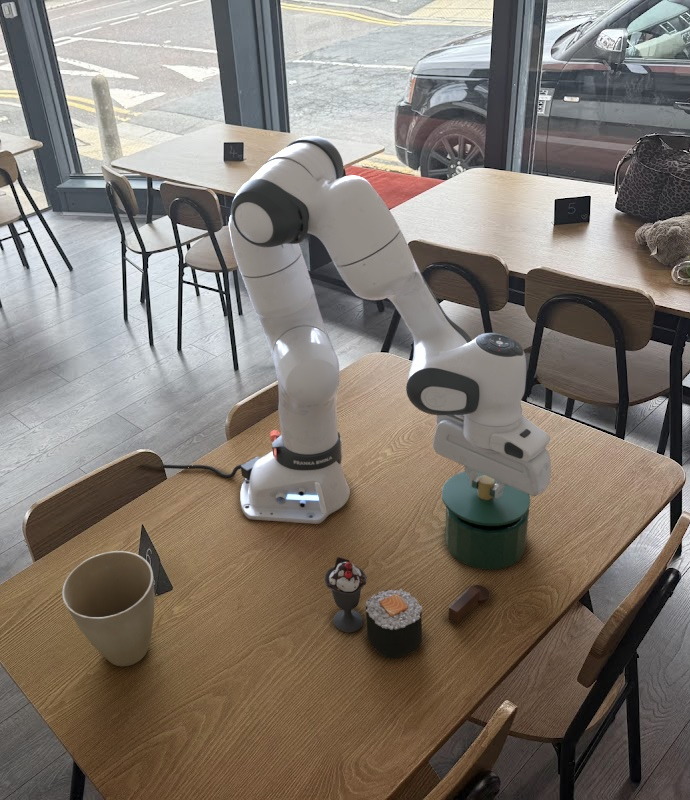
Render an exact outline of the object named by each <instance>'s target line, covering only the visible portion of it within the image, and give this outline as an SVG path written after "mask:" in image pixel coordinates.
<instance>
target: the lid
mask: <svg viewBox="0 0 690 800" xmlns="http://www.w3.org/2000/svg"><path fill="white" fill-rule="evenodd" d="M478 475H479V476H481V477H480V478H479V483H478V489H475V488H473V487H471V486H469V482H470V479H469V478H468V476H467V474H466V472H465V470H463V471H461V472H458V473H456V474H454V475H453V476H451V477H450V478H448V479H447V480H446V481H445V483H444V484H443V486H442V488H441V500H442V502H443V504H444V506H445V508H446V507H447V509H448V510H449V511H450V512H451V513H453V514H454V515H455V516H457V517H459V518H461V519H463V520H465V521H467V522H470V523H474V524H478V525H485V526H499V525H506V524H509V523H513V522H515V521H517V520H519V519H520V518H522V517H523V516H524V515H525V514H526V513H527V511H528V509H529V510H530V507H531V495H529V494H527V493H524V492H522V491H520V490H518V489H515V488H513V487H511V486H509V485H506V486H505V487H504V488H503V494H502V496H501V497H499V498H498V499H497V498H495V497H493V496H491V495H490V493H491V492H490V488H491V487H492V486H494V485H495V484H497V480H495V479H493V478H491V477H488V476H486V475H484V474H482V473H479V472H478Z"/></svg>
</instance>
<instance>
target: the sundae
mask: <svg viewBox="0 0 690 800" xmlns="http://www.w3.org/2000/svg"><path fill="white" fill-rule="evenodd" d="M324 583H325V586H326V587H327V588H328V589H329V590H331V593H332V598H333V600H334V603H335V605H336V607H337V608H339V609H340V610H339V611H338V612H336V613H335V615H334V616H333V624H334V626H335V627H336V629H338V630H339V631H341V632H344V633H353V632H357V631H358V630H360V629H361V628H362V627H363V624H364V618H363V616H362V614H361V613H360V612H358V611H356V610H354V609H356V608H357V607H358V605H359V604H360V601H361V600H360V599H361V593H362V589H363V588H364V587H365V586H366V585H367V575H366V573H365V572H364V571H363V569H362V568H360V567H359V566H358V565H355V564H353V563H352V562H351V560H350V559H348V558H344V557H339V556H337V557H336V559H335V564H334V566H332V567H331V568H328V569H327V571H326V573H325V576H324Z"/></svg>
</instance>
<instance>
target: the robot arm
mask: <svg viewBox="0 0 690 800" xmlns="http://www.w3.org/2000/svg"><path fill="white" fill-rule="evenodd" d="M228 229H229V235H230V241H231V245H232V246H231V247H232V251H233V255H234V258H235V262H236V264H237V267H238V270H239V273H240V276H241V278H242V281H243V284H244V287H245V289H246V292H247V295H248V298H249V300H250V302H251V305H252V308H253V310H254V313H255V315H256V317H257V319H258V321H259V324H260V326H261V329H262V331H263V334H264V336H265V339H266V341H267V344H268V348H269V350H270V354H271V357H272V361H273V364H274V369H275V373H276V377H277V379H276V380H277V387H278V388H277V389H278V404H277V405H278V406H277V409H278V417H279V427H280V431H279V430H277V429H272V430H271V431H270V433H269V436H270V438H269V440H270V442H272V444H271V448H272V450H271V451H270V452H268V453H266V454H265V455H263V456H262V457H260V456H256V457H254V458H252V459H250V460H249V461H247V462H245V463H242V464H238V465H236V466H235V467H233V470H232V472H231V473H224V472H221V470H219V469H217V468H215V467H213V466H211V465H203V464H163V463H162V464H163V467H164V468H163V469H172V470H173V469H175V470H207V471H211V472H213V473H215V474H216V475H218V476H219V477H221V478H224V479H231V478H234V477H235V475H237V472H238V471H239V470H240V471H241V476H242V477H243V479H244V480H243V482H242V484H241V487H240V492H239V493H240V495H239V503H240V508H241V511H242V513H243V515H244V516H245V518H247V519H249V520H255V521H268V522H269V521H270V522H282V523H283V522H286V523H295V524H296V523H297V524H298V523H299V524H312V525H317V524H318V525H319V524H321V523H323V522H324V521H325V520H326V519H327V518H328V516H330V515H331V514H332V513H335V512H336V511H338V510H340V509H341V508H342V507H344V506H345V504H346V503H347V502H348V500H349V498H350V494H351V489H350V486H349V484H348V481H347V480H346V479H347V478H346V476H345V473H344V470H343V465H342V460H343V444H342V439H341V435H340V432H339V425H338V412H337V410H338V409H337V399H338V392H339V386H340V380H341V377H340V376H341V375H340V372H341V371H340V370H341V369H340V362H339V357H338V355H337V353H336V351H335V348H334V346H333V343H332V341H331V339H330V337H329V333H328V330H327V329H326V327H325V323H324V320H323V317H322V313H321V311H320V307H319V304H318V300H317V296H316V293H315V292H316V291H315V288H314V285H313V283H312V280H311V279H312V278H311V275H310V273H309V270H308V267H307V263H306V261H305V257H304V254H303V251H302V248H301V246H300V244H301V243H303V241H304V240H305V239H306V237H307V235H308V234H310V235H313V236H315V237H316V238H318V240H319V241H320V242H321V244H322V245H323V246H324V248H325V250H326V251H327V253H328V255H329V257H330V259H331V261H332V263H333V265H334V266H335V268H336V270H337V272H338V274H339V276H340V277H341V279H342V280H343V282H344V283H345V284H346V286H347V287H348V288H349V289H350V290H351V291H352V293H353V294H354V295H355V296H357V297H359V298H361V299H363V300H369V301H381V300H385V299H387V300H389V301H390V302H391V303H392V304H393V306H394V307H395V309H396V310H397V312H398V314H399V315H400V317H401V318H402V320H403V321H404V323H405V326H407V327H408V330H409V331H410V333H411V335H412V340H413V355H412V356H413V357H412V361H411V364H410V365H411V366H410V368H409V373H408V378H407V382H406V385H405V390H406V395H407V398H408V400H409V401H410V403H411V404H412V405H413V406H414V407H415V408H416V409H418V410H419V411H421V412H423V413H425V414H427V415H432V416H436V421H435V422H436V425H437V426H436V427H435V431H434V435H433V441H432V448H433V450H434V452H435V453H436V454H437V455H438V456H442V457H443V458H446V459H447V460H450V461H453V462H454V463H458V464H459V465H462V466H463V467H464V468H463V471H465V472H466V474H467V476H468V478H469V479H470V482H469V486H471V487H473V488H475V489H478V483H479V478H480V477H481V476H479V475H478V472H479V473H482V474H484V475H486V476H488V477H491V478H493V479H495V480H497V484H495V485H494V486H492V487H491V488H490V492H491V493H490V495H491V496H493V497H495V498H497V499H498V498H499V497H501V496H502V494H503V488H504V487H505V486H506V485H509V486H511V487H513V488H515V489H518V490H520V491H522V492H524V493H527V494H529V496H530V497H537V496H538V495H540V494H542V493H543V492H544V491H545V490H546V489H547V488H548V486H549V485H550V481H551V472H552V470H551V469H552V468H551V467H552V461H551V460H552V459H551V455H550V452H549V451H548V449H547V447H548V445H550V442H551V436H550V435H549V434H548V433H547V432H546V431H544V430H543V429H541V428H540V427H538V426H537V425H536V424H535V423H534V422H532V421H531V420H529V419H528V417H526V416H525V415H524V414H523V407H522V400H523V398H524V395H525V392H526V383H527V357H526V353H525V351H524V348H523V346H522V345H521V344H520V343H519V342H518V341H517V340H515V339H514V338H512V337H510V336H508V335H505V334H502V333H497V332H486V333H485V332H484V333H481V334H479V335H477V336H476V337H475V338H474V339H472V337H470V335H469V334H468V333H467V332H466V331H465V330H464V329H462V327H460V326H459V325H458V324H456V323H455V322H454V321H453V320H452V319H450V316H448V315H447V314H446V312H445V311H444V310H443V308H442V306H441V304H440V303H439V301H438V299H437V297H436V296H435V293H433V291H432V289H431V287H430V286H429V284H428V282H427V281H426V279H425V277H424V276H423V274H422V273H421V271H420V269H419V266H418V265H417V263H416V261H415V258H414V256H413V253H412V251H411V249H410V246H409V244H408V242H407V240H406V237H405V235H404V234H403V232H402V230H401V228H400V226H399V224H398V222H397V220H396V219H395V217H394V216H393V213H392V212H391V211H390V209H389V207H388V206H387V204H386V203H385V201H384V200H383V197H381V195H380V194H379V193H378V192H377V191H376V189H375V188H374V187H373V186H372V185H371V183H370V182H369V180H367V179H365V178H364V177H361V176H358V175H347V176H344V161H343V158H342V156H341V154H340V152H339V150H338V149H337V147H336V146H335V145H334V144H333V143H332V142H330V141H329V140H328V139H326V138H323V137H321V136H317V135H309V136H304V137H300V138H298V139H296V140H294V141H292V142H291V143H289V144H288V145H287V146H286V147H285V148H284V149H282V150H281V151H279V152H278V153H276V154H275V155H273V156H272V157H270V158H269V159H268V160H267V161H266V162H264V163H263V165H262V166H261V168H259V170H258V171H257V172H256V173H255V174H253V176H252V177H251V178H250V179H249V180H247V181H246V182H245V183H243V185H241V187H240V188H239V189H238V191H237V192H236V194H235V196H234V198H233V200H232V203H231V206H230V216H229V221H228ZM192 465H193V466H192ZM161 467H162V466H161ZM188 467H189V468H188Z"/></svg>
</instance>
